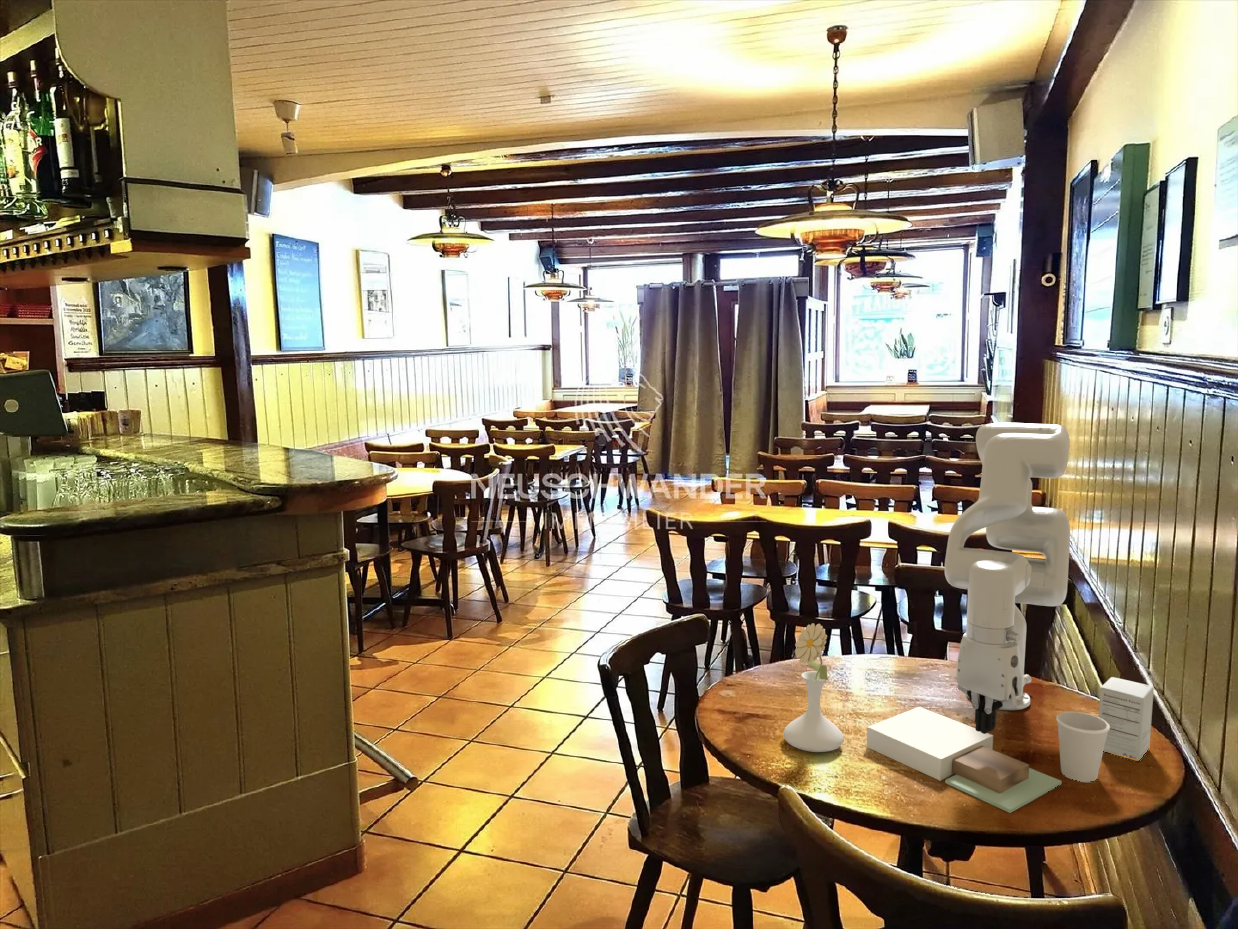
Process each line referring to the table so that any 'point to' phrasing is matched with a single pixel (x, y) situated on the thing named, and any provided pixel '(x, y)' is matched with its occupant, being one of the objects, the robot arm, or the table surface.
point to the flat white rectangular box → (925, 740)
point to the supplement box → (1126, 716)
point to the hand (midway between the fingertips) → (984, 730)
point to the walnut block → (990, 769)
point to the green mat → (1008, 790)
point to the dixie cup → (1081, 744)
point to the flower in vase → (813, 698)
